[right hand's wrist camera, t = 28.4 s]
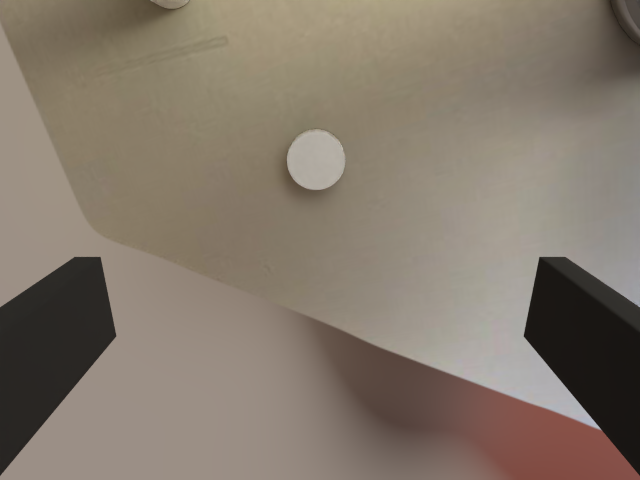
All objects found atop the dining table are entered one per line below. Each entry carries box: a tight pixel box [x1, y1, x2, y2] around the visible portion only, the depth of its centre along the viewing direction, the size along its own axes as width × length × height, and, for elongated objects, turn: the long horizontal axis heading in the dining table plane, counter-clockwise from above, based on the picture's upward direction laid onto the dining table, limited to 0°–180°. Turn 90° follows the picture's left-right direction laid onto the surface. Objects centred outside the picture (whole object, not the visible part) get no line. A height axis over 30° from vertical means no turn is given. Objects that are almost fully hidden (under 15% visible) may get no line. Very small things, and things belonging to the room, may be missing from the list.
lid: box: [286, 129, 346, 190], centre depth 38 cm, size 5×5×2 cm
